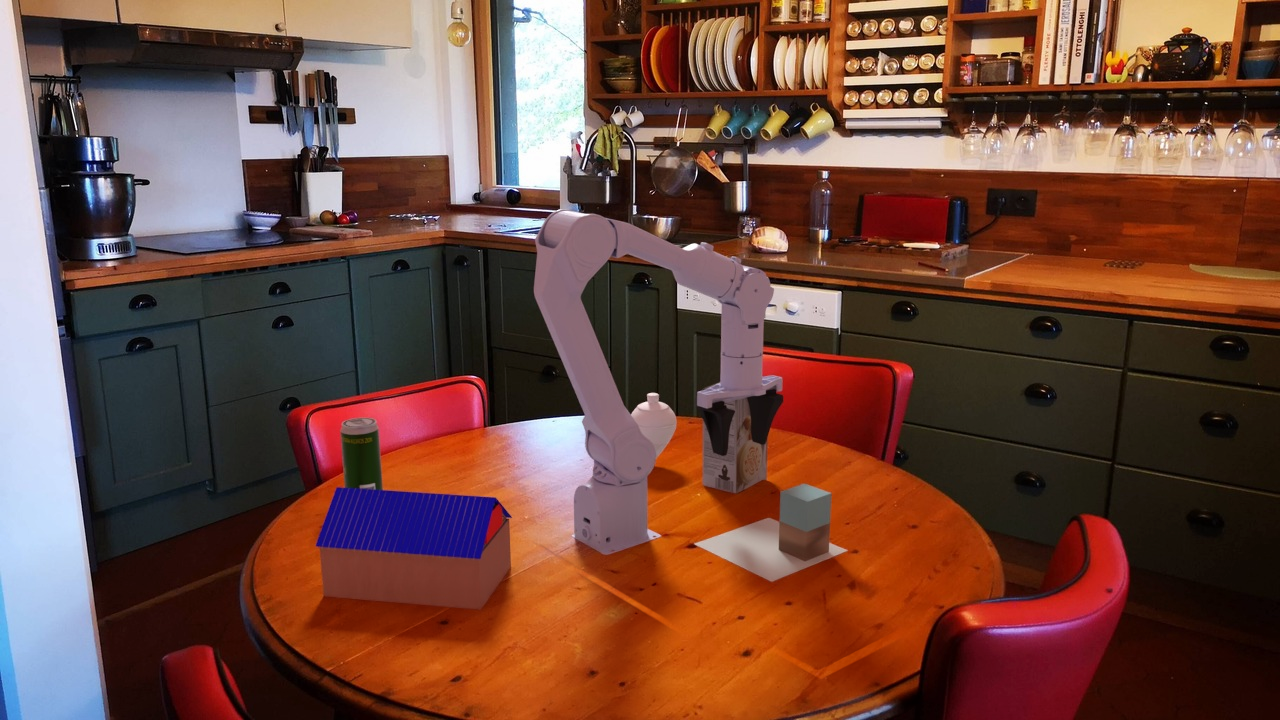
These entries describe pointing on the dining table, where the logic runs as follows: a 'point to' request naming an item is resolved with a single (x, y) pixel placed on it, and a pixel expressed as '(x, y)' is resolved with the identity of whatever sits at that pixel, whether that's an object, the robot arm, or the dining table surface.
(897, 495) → the dining table surface
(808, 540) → the walnut block
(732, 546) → the mat
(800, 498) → the teal block
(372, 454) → the beer can
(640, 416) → the spinning top
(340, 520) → the house
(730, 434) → the coffee box
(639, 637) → the dining table surface
